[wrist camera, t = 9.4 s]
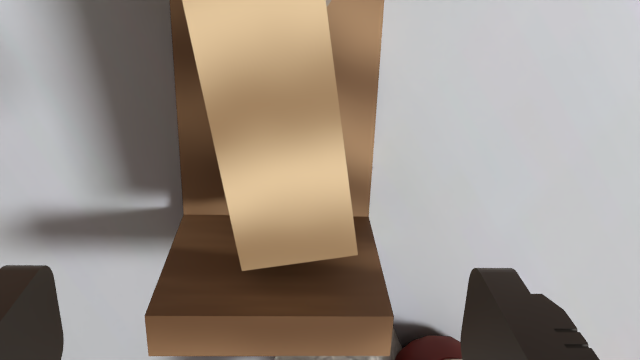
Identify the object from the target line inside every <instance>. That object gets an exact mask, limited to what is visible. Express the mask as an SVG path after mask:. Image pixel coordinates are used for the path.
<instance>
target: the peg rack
mask: <svg viewBox="0 0 640 360" xmlns="http://www.w3.org/2000/svg"><path fill="white" fill-rule="evenodd" d="M326 7H327V15H328V23H329V31H330V39H331V47H332V54H333V62H334V70H335V78H336V86H337V94H338V102H339V110H340V117H341V125H342V133H343V141H344V149H345V157H346V165H347V172H348V180H349V188H350V196H351V204H352V212H353V220H354V227H355V235H356V243H357V251H358V255H355V256H348V257H340V258H333V259H326V260H319V261H311V262H304V263H297V264H290V265H282V266H275V267H268V268H261V269H253V270H246V271H242V269H241V265H240V260H239V256H238V251H237V247H236V242H235V238H234V233H233V229H232V224H231V220H230V215H229V210H228V206H227V201H226V197H225V192H224V188H223V183H222V179H221V174H220V170H219V165H218V161H217V156H216V152H215V147H214V143H213V138H212V133H211V129H210V124H209V120H208V115H207V111H206V106H205V102H204V97H203V93H202V88H201V84H200V79H199V75H198V70H197V66H196V61H195V56H194V52H193V47H192V43H191V38H190V34H189V29H188V25H187V20H186V16H185V11H184V7H183V2H182V0H170V14H171V29H172V44H173V60H174V75H175V90H176V106H177V121H178V136H179V152H180V167H181V182H182V197H183V213H184V215H183V217H182V220H181V223H180V225H179V228H178V230H177V233H176V236H175V238H174V241H173V243H172V246H171V249H170V251H169V254H168V256H167V259H166V262H165V264H164V267H163V269H162V272H161V275H160V277H159V280H158V283H157V285H156V288H155V290H154V293H153V296H152V298H151V301H150V303H149V306H148V309H147V311H146V314H145V324H146V334H147V344H148V353H149V356H390V350H391V340H392V330H393V320H394V315H393V312H392V308H391V304H390V300H389V296H388V292H387V288H386V284H385V280H384V276H383V272H382V268H381V264H380V260H379V256H378V252H377V248H376V244H375V240H374V236H373V232H372V228H371V224H370V221H369V203H370V189H371V175H372V161H373V148H374V134H375V120H376V106H377V92H378V78H379V65H380V51H381V37H382V23H383V9H384V0H326Z"/></svg>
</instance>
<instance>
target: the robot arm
mask: <svg viewBox="0 0 640 360" xmlns="http://www.w3.org/2000/svg"><path fill="white" fill-rule="evenodd" d="M62 352H63V330H62V324H61V318H60V312H59V306H58V300H57V294H56V288H55V282H54V276H53V273H52V271H51V269H50V268H49V267H48V266H34V265H6V266H3V267H2V268H1V269H0V360H61V357H62ZM461 355H462V360H599V358H598V357H597V355H596V354H595V353H594V351H593V350H592V348H589V347H588V343H587V342H586V340H585V339H584V337H583V336H582V335H581V333H580V332H577V328H576V326H575V325H574V323H573V322H572V321H571V319H570V318H569V316H568V315H567V314H566V312H565V311H564V310H563V309H562V308H560V307H559V306H558V305H556V304H555V303H554V302H552V301H551V300H549V299H548V298H547V297H545V296H544V295H543V294H531V293H530V292H529V290H528V289H527V287H526V286H525V284H524V283H523V281H522V280H521V278H520V277H519V275H518V274H517V272H516V271H515V270H514V269H512V268H474V269H473V270H472V271H471V274H470V277H469V283H468V290H467V297H466V303H465V310H464V317H463V324H462V331H461Z"/></svg>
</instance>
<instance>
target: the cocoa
mask: <svg viewBox="0 0 640 360" xmlns="http://www.w3.org/2000/svg"><path fill="white" fill-rule="evenodd" d="M395 360H462V355H461V342H459V341H458V340H456V339H454V338H452V337H450V336H433V335H428V336H425V337H422V338H419V339H416V340H413V341H412V342H410V343H409V344H408V345H407V346H405V347H404V348H403V349H402V350H401V351H400V352H399V353H398V354H397V356H396V358H395Z"/></svg>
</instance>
